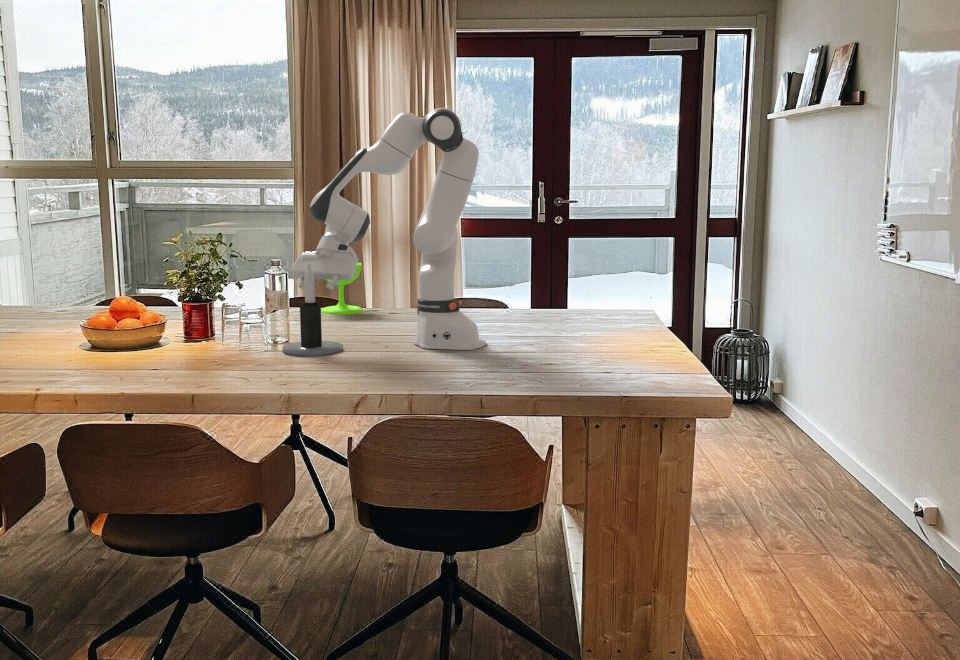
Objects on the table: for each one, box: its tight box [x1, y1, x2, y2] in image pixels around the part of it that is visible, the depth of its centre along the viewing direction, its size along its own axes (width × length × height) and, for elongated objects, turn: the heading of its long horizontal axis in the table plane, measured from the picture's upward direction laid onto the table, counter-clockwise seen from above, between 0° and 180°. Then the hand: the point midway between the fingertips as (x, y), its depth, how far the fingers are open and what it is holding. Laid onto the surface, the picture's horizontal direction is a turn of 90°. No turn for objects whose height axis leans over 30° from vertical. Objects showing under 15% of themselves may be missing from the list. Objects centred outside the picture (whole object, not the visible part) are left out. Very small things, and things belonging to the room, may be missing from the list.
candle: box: [299, 264, 323, 348], centre depth 277 cm, size 5×5×25 cm
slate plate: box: [281, 340, 344, 357], centre depth 279 cm, size 18×18×1 cm
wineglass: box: [321, 262, 364, 316], centre depth 351 cm, size 16×16×18 cm
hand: (315, 288), depth 277 cm, fingers open, 8 cm apart
